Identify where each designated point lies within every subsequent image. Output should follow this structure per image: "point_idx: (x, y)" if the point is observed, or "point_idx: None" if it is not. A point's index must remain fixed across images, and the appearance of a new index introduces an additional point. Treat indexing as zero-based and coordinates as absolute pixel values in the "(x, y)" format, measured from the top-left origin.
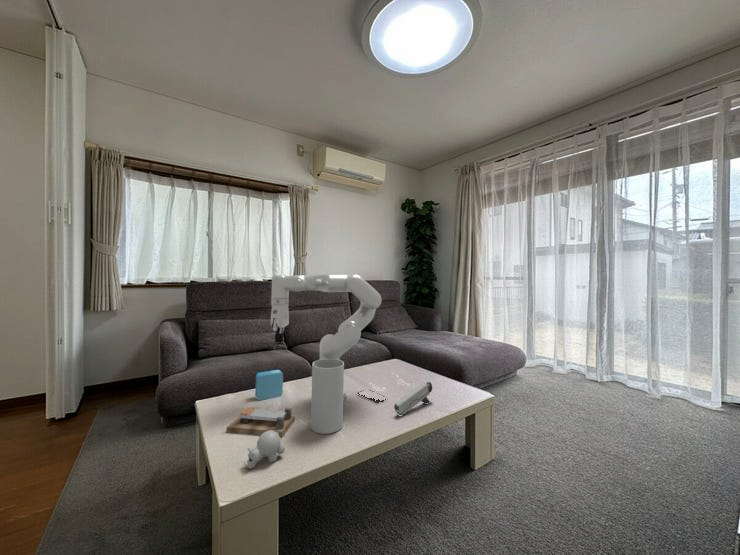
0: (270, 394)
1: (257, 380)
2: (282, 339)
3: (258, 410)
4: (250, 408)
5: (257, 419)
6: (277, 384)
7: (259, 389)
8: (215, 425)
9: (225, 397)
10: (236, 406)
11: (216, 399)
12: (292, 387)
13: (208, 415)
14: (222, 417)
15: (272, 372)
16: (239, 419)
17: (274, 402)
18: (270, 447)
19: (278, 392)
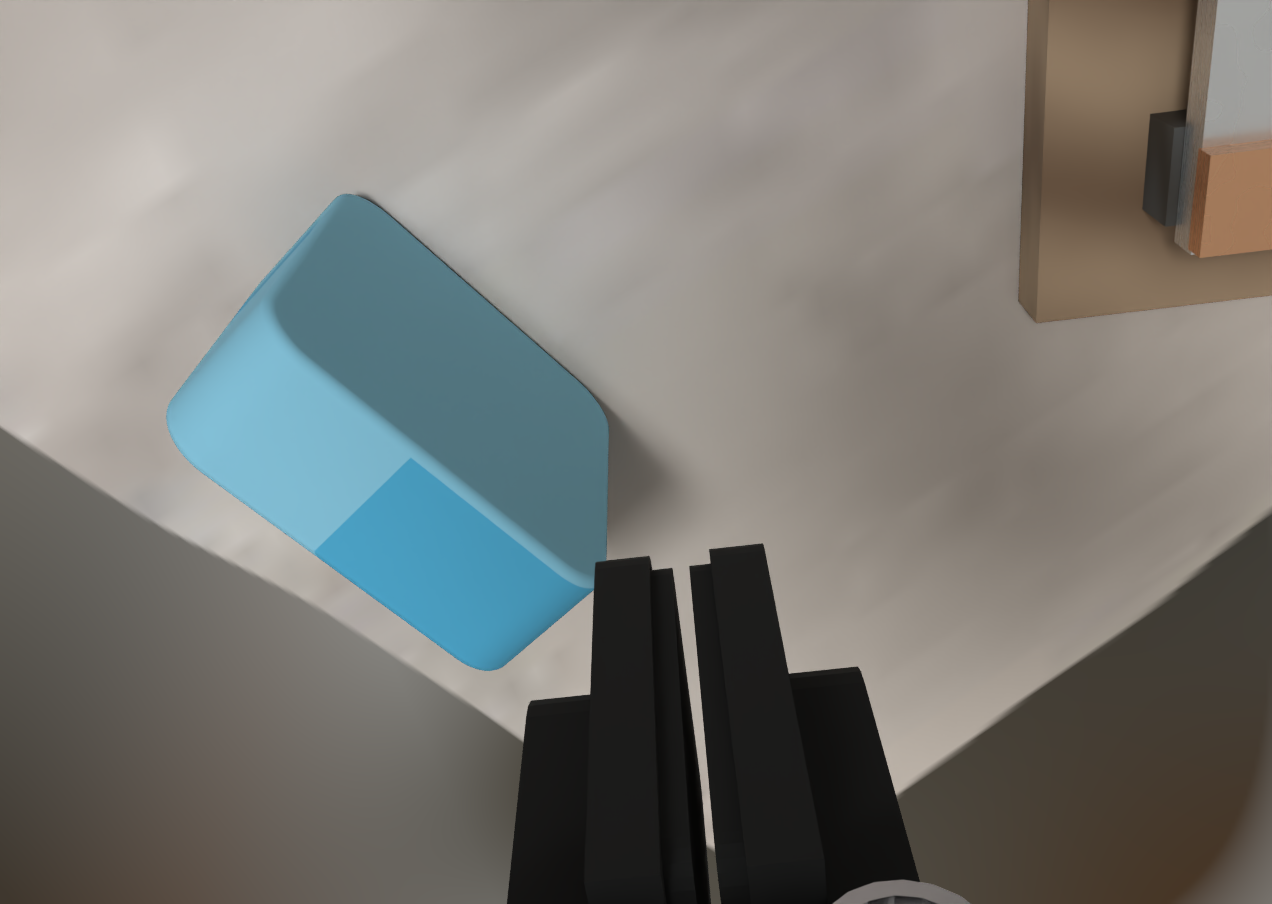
0: (477, 316)
1: (604, 557)
2: (649, 620)
3: (1230, 68)
4: (1246, 187)
5: None
6: (378, 300)
7: (587, 461)
8: (1233, 452)
9: None
10: (801, 530)
11: (702, 796)
12: (18, 200)
13: (1041, 641)
14: (1065, 499)
15: (372, 475)
16: (1230, 254)
17: (576, 171)
18: None
19: (386, 241)
